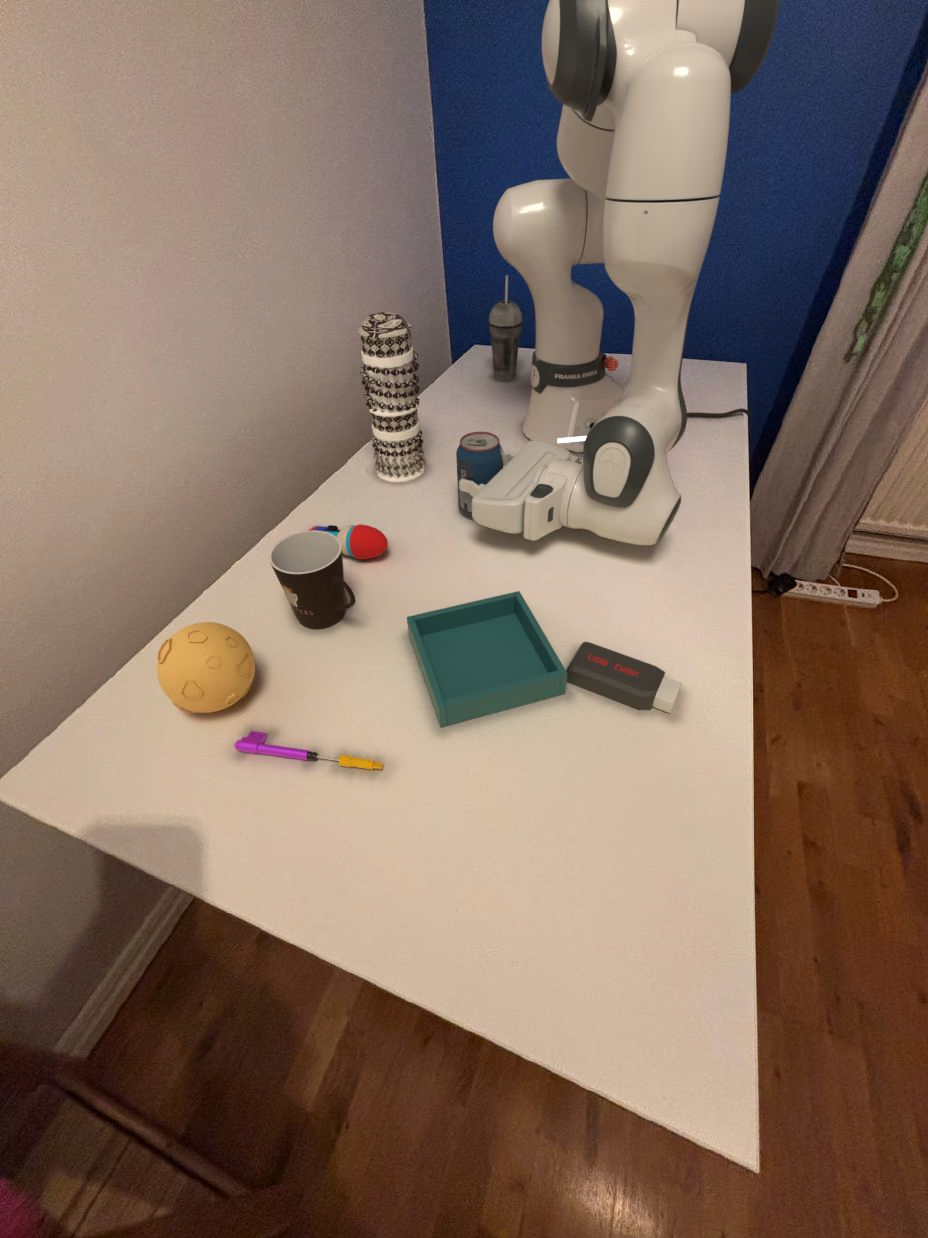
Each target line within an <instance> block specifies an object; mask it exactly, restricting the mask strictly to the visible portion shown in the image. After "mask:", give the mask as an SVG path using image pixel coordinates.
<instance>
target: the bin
mask: <svg viewBox="0 0 928 1238" xmlns="http://www.w3.org/2000/svg"><path fill="white" fill-rule="evenodd" d="M406 623H407V631H408V637H409V641H410V643H411V646H412V649H413V653H414V655H415V659H416V661H417V663H418V667H419V668H420V672H421V675H422V678H423V681H424V684H425V687H426V690H427V693H428V696H429V698H430V702H431V705H432V707H433V710H434V714H435V716H436V719H437V721H438V725H439V727H440V728H445V727H449V726H452V725H456V724H460V723H464V722H467V721H470V720H474V719H478V718H481V717H485V716H490V715H492V714H496V713H501V712H504V711H507V710H511V709H515V708H518V707H522V706H526V705H529V704H534V703H536V702H540V701H545V700H548V699H551V698H555V697H559V696H562V695H565V694H566V688H567V683H568V682H567V675H568V673H567V672H566V670H567V669H566V668H565V666H564V665H563V663H562V661H561V660H560V658H559V656H558V654H557V652H556V651H555V649H554V648H553V646H552V644H551V643H550V641H549V639H548V637H547V636H546V634H545V632H544V631H543V628H542V627H541V626H540V624H539V622H538V620H537V619H536V616H535V615H534V614H533V612H532V609H531V608H530V607H529V605H528V603H527V601H526V600H525V598H524V597H523V595H522V592H521V591H520V590H517V591H513V592H508V593H505V594H499V595H494V596H491V597H487V598H483V599H478V600H474V601H470V602H466V603H460V604H457V605H452V606H448V607H444V608H439V609H435V610H430V611H427V612H422V613H417V614H413V615H408V616H406Z"/></svg>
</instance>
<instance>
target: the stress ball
mask: <svg viewBox="0 0 928 1238" xmlns="http://www.w3.org/2000/svg"><path fill="white" fill-rule="evenodd" d="M156 663H157V664H156V674H157V680H158V683H159V685H160V688H161V689H162V691H163V693H164V694H165V696H166V697H167V698H168V699H169V700H170V701H171V703H172V704H173V705H174V707H176V708H177V709H178V710H180V711H183V712H185V713H189V714H193V715H194V714H196V713H201V714H204V713H206V714H207V713H214V712H219V711H222V710H224V709H228V708H229V707H231V706H232V705H234V704H236V703H238V701H240V700H241V699H242V698H245V697H246V696H247V694H248V693H249V691H250V690H251V685H252V683H253V681H254V678H255V672H256V661H255V655H254V651H253V649H252V647H251V645H250V644H249V642H248V640H246V638H245V637H244V636H243V635H242V634H240V632H238V630H236V629H234V628H233V627H230V626H228V625H226V624H223V623H219V622H212V621H209V622H208V621H204V622H197V623H193V624H190V625H186V626H185V627H182V628H181V629H178V631H176V632H174V633H173V634H172V635H171V636H170V637H169V638H167V639H165V640H164V642H163V643H162V644H161V646H160V648H159V649H158V651H157V662H156Z"/></svg>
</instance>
